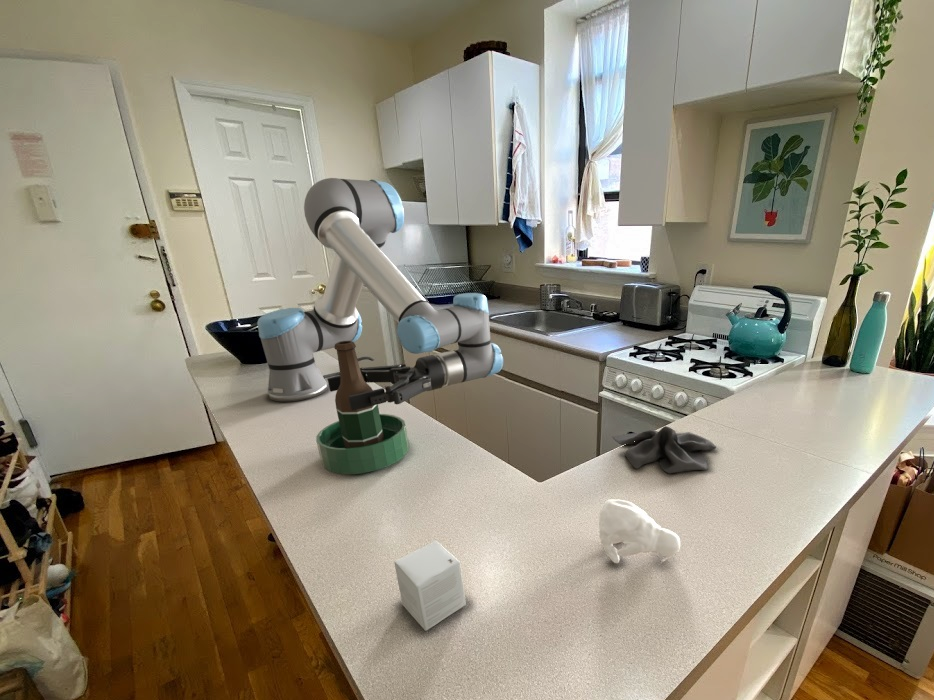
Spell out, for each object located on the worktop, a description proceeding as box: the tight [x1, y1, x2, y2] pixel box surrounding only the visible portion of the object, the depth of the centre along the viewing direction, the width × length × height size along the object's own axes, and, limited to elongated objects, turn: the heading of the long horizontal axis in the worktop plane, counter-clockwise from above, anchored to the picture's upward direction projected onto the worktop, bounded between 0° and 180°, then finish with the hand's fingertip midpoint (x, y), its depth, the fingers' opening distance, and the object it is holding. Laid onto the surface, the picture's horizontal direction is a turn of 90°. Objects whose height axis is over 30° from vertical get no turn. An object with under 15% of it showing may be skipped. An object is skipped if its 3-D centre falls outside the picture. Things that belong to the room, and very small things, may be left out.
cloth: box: [611, 425, 717, 474], centre depth 97 cm, size 22×19×6 cm
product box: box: [393, 540, 467, 632], centre depth 59 cm, size 6×6×7 cm
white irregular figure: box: [598, 499, 681, 564], centre depth 67 cm, size 6×8×12 cm
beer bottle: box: [334, 341, 384, 448], centre depth 93 cm, size 8×8×24 cm
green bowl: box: [315, 413, 410, 475], centre depth 97 cm, size 17×17×6 cm
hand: (338, 393), depth 91 cm, fingers open, 13 cm apart
